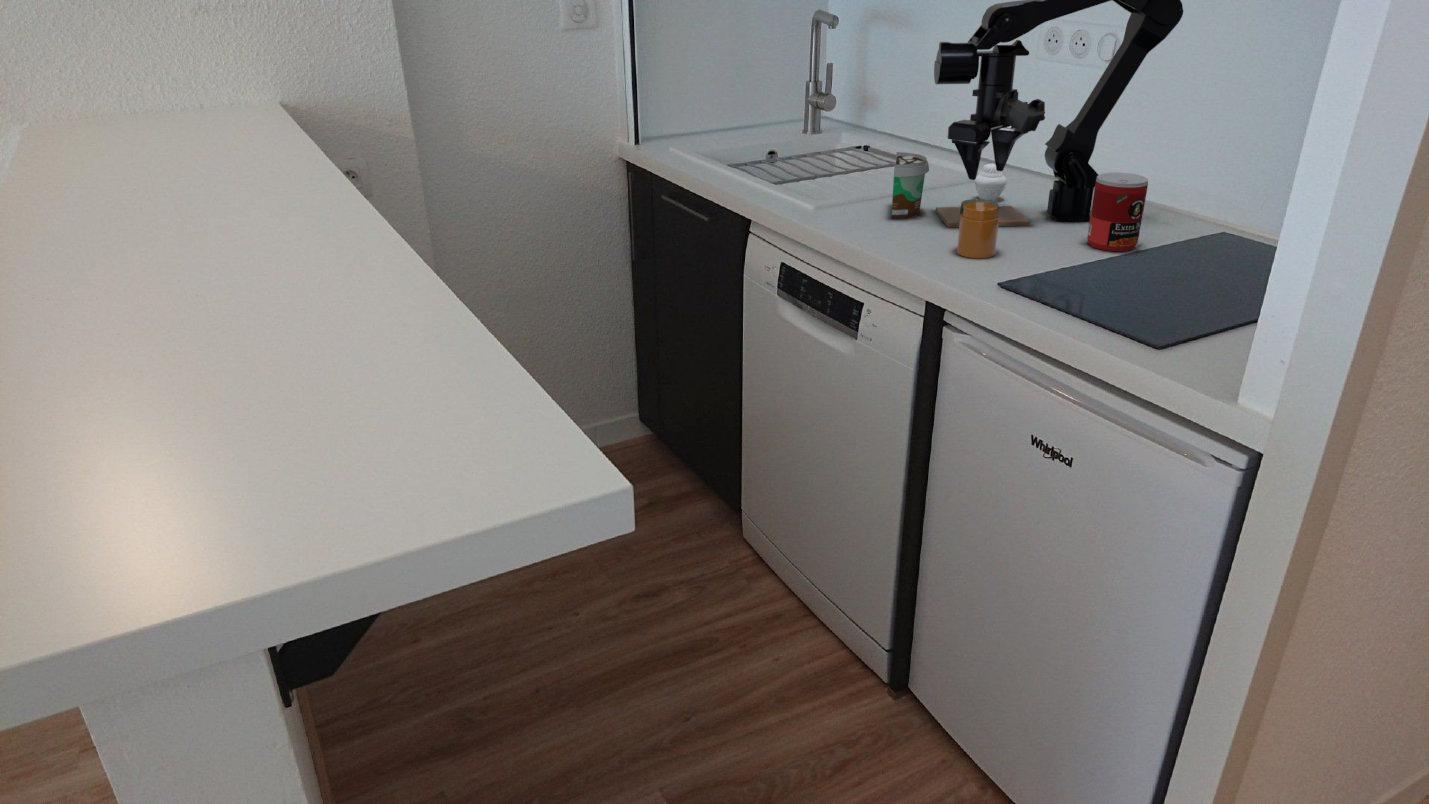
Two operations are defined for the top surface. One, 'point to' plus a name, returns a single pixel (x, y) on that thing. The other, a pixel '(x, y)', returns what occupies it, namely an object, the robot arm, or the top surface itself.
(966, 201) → the lid
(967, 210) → the jar
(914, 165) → the food container
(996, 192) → the muffin
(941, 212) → the cork mat
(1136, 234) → the canned food
